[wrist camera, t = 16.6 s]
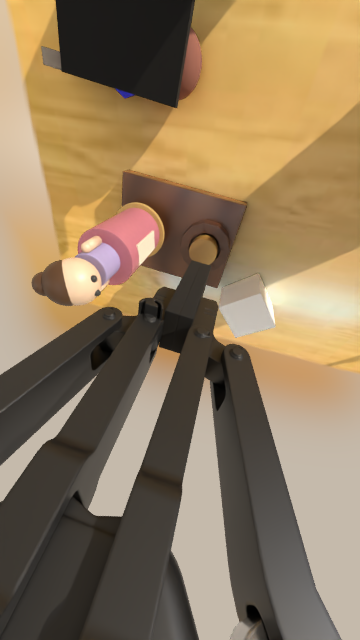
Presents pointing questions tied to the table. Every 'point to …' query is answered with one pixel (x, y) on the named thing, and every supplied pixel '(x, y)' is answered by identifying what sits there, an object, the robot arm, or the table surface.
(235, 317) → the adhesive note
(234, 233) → the brown wooden base
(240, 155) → the table surface
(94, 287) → the doll
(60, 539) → the robot arm
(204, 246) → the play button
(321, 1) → the table surface
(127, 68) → the figurine character
